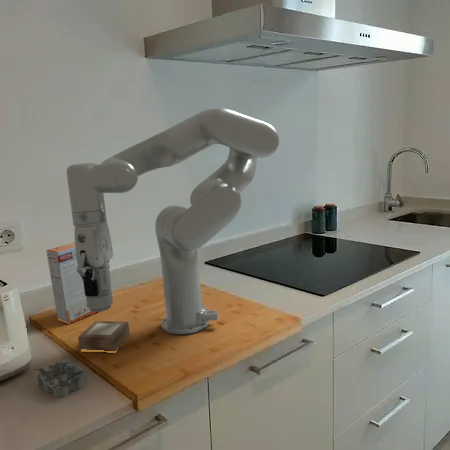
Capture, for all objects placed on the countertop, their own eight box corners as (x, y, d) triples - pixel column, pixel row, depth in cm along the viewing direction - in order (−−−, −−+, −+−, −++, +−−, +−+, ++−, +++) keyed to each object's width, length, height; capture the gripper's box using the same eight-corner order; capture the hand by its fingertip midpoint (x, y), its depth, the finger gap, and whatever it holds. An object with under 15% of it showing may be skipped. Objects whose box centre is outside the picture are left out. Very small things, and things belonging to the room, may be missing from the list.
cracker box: (97, 304, 144) (88, 237, 140) (109, 308, 140) (101, 239, 136) (56, 320, 134) (45, 248, 129) (68, 325, 130) (57, 251, 126)
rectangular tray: (130, 336, 120) (128, 321, 120) (115, 353, 112) (113, 337, 111) (97, 335, 122) (95, 320, 121) (80, 352, 114) (78, 336, 113)
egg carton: (33, 384, 101) (30, 367, 100) (66, 370, 106) (63, 353, 105) (56, 402, 94) (53, 383, 93) (90, 386, 99) (88, 368, 98)
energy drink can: (115, 302, 118) (109, 244, 115) (109, 312, 112) (102, 250, 109) (91, 303, 118) (84, 245, 115) (84, 313, 112) (76, 252, 109)
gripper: (87, 224, 101) (97, 304, 105) (119, 209, 118) (126, 278, 122) (55, 225, 103) (66, 304, 106) (91, 210, 119) (99, 278, 123)
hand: (98, 290), depth 114 cm, fingers closed on energy drink can, 6 cm apart
